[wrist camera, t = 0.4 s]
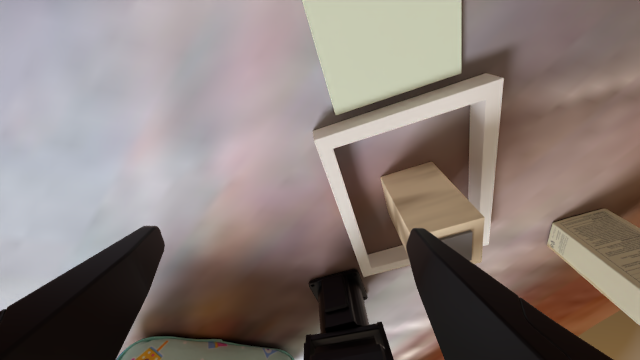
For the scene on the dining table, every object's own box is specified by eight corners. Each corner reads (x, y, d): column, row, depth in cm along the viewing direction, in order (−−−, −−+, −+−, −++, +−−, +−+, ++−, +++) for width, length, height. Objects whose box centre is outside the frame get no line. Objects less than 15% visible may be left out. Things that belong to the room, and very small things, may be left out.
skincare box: (544, 244, 32) (661, 351, 22) (551, 220, 29) (686, 327, 19) (597, 231, 31) (743, 334, 21) (608, 205, 29) (779, 307, 19)
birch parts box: (434, 200, 26) (482, 264, 19) (388, 213, 27) (419, 280, 20) (431, 161, 24) (486, 219, 17) (380, 176, 24) (413, 239, 17)
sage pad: (457, 72, 19) (461, 73, 19) (334, 113, 20) (335, 115, 20) (456, -110, 14) (461, -114, 14) (290, -41, 15) (289, -43, 15)
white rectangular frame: (477, 231, 29) (488, 244, 28) (360, 263, 31) (363, 277, 29) (486, 72, 20) (503, 77, 18) (312, 130, 21) (313, 140, 19)
